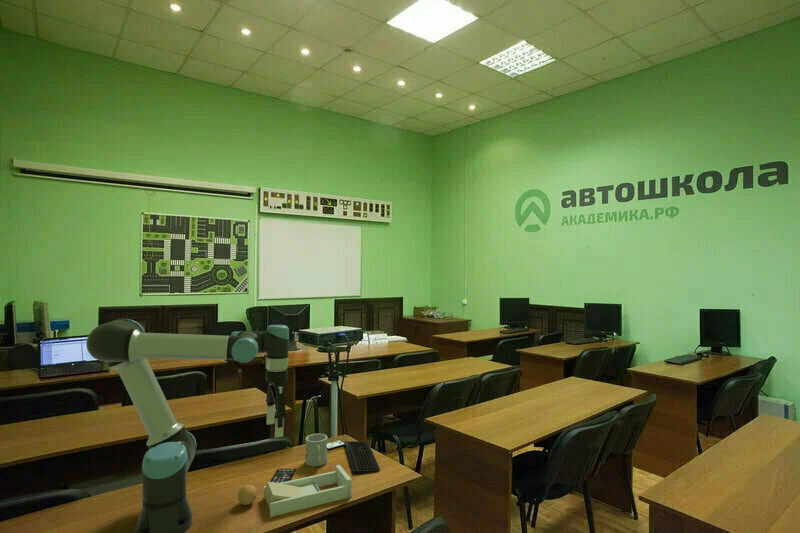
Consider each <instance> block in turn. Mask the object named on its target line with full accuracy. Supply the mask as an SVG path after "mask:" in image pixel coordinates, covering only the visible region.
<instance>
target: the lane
mask: <svg viewBox="0 0 800 533" xmlns="http://www.w3.org/2000/svg"><path fill="white" fill-rule="evenodd" d="M352 482H353V481H352V478H351V477H350V476H349V474H348V473H347V471H345V469H344V468H343V467H342V466H341V464H337V465H335V470H333V471H329V472H325V473H319V474H316V475H311V476H306V477H302V478H297V479H291V481H286V482H282V483H273V482H270V481H267V483H266V485H264V486H263V500H265V501H266V503H267V507H268V509H269V517H270V518H273V517H276V516H280V515H283V514H288V513H292V512H297V511H301V510H305V509H307V508H308V509H309V508H312V507H317V506H320V505H324V504H329V503H332V502H337V501H342V500H344V499H348V498H352V494H353V493H352ZM334 484H337V486H336V487H331V488H328V489H323V490H322V489H320V488H321V487H322V488H323V487H325V486H330V485H334Z"/></svg>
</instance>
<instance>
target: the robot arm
mask: <svg viewBox="0 0 800 533" xmlns="http://www.w3.org/2000/svg"><path fill="white" fill-rule="evenodd" d="M85 345H86V349H87V351H88V354H89V355H90V356H91V357H93V359H95V360H97V361H100V362H105V363H107V365H108V367H109V369H111V370H115V371H117V374H119V376H120V379H121V380H122V383H123V385H124V387H125V389H126V391H127V393H128V395H129V397H130V399H131V402H132V403H133V406H134V408H135V409H136V412H137V414H138V416H139V418H140V420H141V422H142V425H143V427H144V429H145V431H146V433H147V436H148V439H147V441H146V447H147V448H148V450H147V451H146V452H145V454H144V456H143V458H142V459H143V460H142V464H141V471H142V490H141V491H142V495H141V496H142V498H141V499H142V502H141V503H142V506H141V509H140V511H139V515H138V518H137V521H136V524H135V527H134V528H135V529H134V533H185V532H187V531H188V530H189V528H190V527H191V526H192V524H193V512H192V508H191V506H190V503H189V501H188V498H187V475H188V472H189V469H190V466H191V465H192V462H193V460H194V459H195V455H196V452H197V441H196V438H195V436H194V435H193V433H191V432H189V431H187V429H186V427H185V425H184V423H180V422H178V421H177V420H176V418H175V416H174V413H173V411H172V409H171V406H170V404H169V403H168V401H167V398H166V396H165V394H164V392H163V390H162V387H161V386H160V384H159V382H158V379H157V378H156V376H155V373H154V371H153V368H152V366H151V365H150V363H149V360H148V359H157V360H159V359H160V360H161V359H164V360H165V359H166V360H167V359H168V360H169V359H170V360H214V361H215V360H216V361H217V360H218V361H219V360H220V361H221V360H222V361H236V362H239V363H241V364H244V363H250V362H251V361H253V360H254V359H255V357H256V356H257V355H258V354H261V353H262V354H265V356H266V357H265V369H266V370H265V378H264V379H265V381H266V382H267V383H268V386H267V390H266V398H265V402H266V405H267V406H266V425H274V438H280V437H284V432H285V431H284V430H285V429H284V426H285V424H284V423H285V418H286V417H287V413H286V398H285V397H286V396H285V389H286V388H285V387H284V386H282V384H283V382H286V381H287V380H288V375H289V372H288V366H289V362H290V359H289V349H290V348H289V347H290V346H289V345H290V329H289V327H288V326H287V325H286V324H270V325H268V326H267V329H266V330H264V331H263V330H262V331H259V330H256V331H253V330H252V331H251V330H250V331H249V330H248V331H247V330H244V331H243V330H239V331H238V330H237V331H233V332H231V334H230V335H218V334H217V335H215V334H212V335H211V334H189V333H185V334H184V333H162V332H161V333H159V332H145V329H144V328H143V326H142V325H141V324H140V323H139V322H138V321H135V320H133V319H130V318H129V319H128V318H118V319H115V320H112V321H109V322H105V323H103V324H99V325H98V326H96V327H95V328H94V329H93V330H92V331H91V332H90V333H89V334H88V336H87V338H86V344H85Z"/></svg>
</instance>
